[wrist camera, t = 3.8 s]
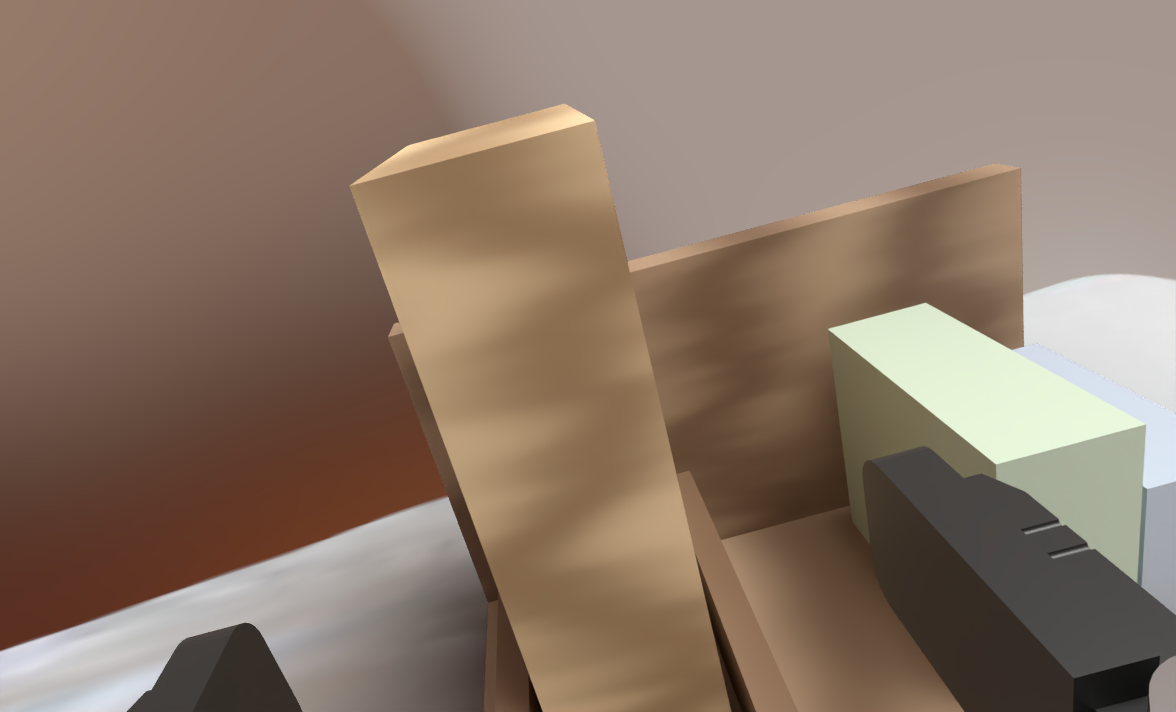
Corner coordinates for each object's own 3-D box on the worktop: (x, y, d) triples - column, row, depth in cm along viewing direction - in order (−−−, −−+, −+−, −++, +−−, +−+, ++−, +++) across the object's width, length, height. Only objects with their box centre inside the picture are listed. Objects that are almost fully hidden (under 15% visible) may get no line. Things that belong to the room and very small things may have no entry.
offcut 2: (1136, 664, 17) (1147, 488, 15) (964, 501, 24) (957, 364, 22) (1239, 637, 17) (1262, 458, 15) (1038, 481, 24) (1037, 342, 22)
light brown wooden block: (580, 813, 17) (349, 185, 11) (561, 609, 24) (408, 145, 18) (744, 770, 17) (594, 120, 11) (680, 577, 24) (564, 103, 18)
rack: (489, 995, 15) (274, 577, 11) (498, 605, 26) (394, 323, 22) (1365, 760, 15) (1485, 253, 11) (1004, 470, 26) (995, 163, 22)
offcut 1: (1004, 721, 17) (995, 464, 14) (852, 521, 24) (827, 328, 21) (1131, 687, 17) (1146, 424, 14) (939, 498, 24) (925, 302, 21)
